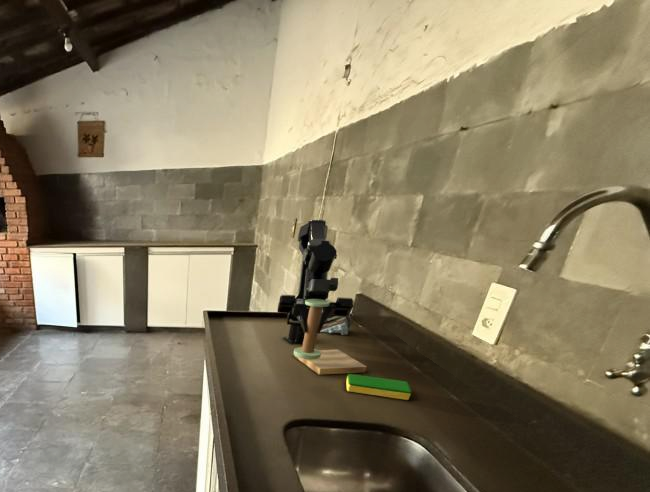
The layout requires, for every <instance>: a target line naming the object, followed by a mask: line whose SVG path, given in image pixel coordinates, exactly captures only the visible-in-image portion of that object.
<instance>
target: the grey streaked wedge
mask: <svg viewBox="0 0 650 492" xmlns="http://www.w3.org/2000/svg"><path fill="white" fill-rule="evenodd" d="M352 324H353V319H352V316H351V313H350V314H349V315H348V316H346V317H343V316H335V315H333V316H332V318H328V319H327V320H326V321H325V323H324V325H323V327H322V329H321V332H320V333H322V332H323V333H329V334H330V335H333V334H340V335H341V336H344V335H348V334H349V329H350V328H351V327H352Z"/></svg>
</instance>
